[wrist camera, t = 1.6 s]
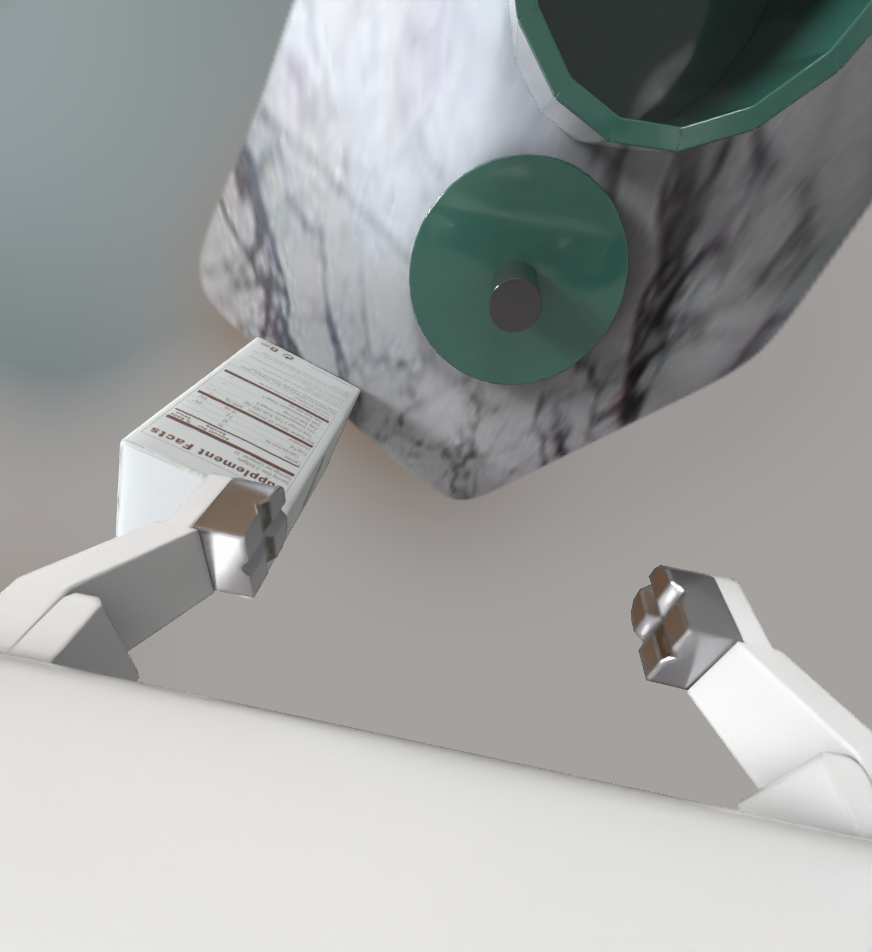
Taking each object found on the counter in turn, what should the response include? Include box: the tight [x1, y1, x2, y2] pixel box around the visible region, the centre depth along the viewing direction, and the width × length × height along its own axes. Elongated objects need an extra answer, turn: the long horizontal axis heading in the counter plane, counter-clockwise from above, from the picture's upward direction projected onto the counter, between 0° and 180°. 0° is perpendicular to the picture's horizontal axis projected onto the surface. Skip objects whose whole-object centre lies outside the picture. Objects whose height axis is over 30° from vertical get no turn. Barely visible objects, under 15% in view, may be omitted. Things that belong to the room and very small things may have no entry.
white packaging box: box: [116, 337, 361, 599], centre depth 25 cm, size 7×7×13 cm
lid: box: [409, 154, 629, 385], centre depth 22 cm, size 11×11×5 cm
